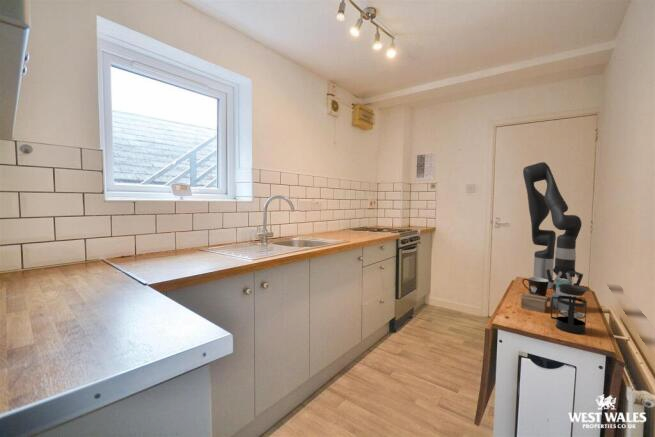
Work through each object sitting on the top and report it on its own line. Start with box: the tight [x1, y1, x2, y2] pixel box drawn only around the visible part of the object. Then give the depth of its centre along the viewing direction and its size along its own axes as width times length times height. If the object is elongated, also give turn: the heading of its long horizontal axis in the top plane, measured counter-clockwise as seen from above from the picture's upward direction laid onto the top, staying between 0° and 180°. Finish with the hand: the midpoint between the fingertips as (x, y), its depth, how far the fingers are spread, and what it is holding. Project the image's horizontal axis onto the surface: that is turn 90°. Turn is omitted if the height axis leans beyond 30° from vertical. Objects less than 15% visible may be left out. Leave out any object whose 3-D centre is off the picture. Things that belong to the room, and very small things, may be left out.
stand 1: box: [520, 292, 549, 313], centre depth 142 cm, size 9×9×5 cm
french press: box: [550, 271, 589, 335], centre depth 118 cm, size 12×9×23 cm
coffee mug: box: [521, 276, 549, 297], centre depth 156 cm, size 12×9×10 cm
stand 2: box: [549, 292, 577, 311], centre depth 142 cm, size 9×9×5 cm
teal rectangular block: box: [555, 278, 571, 296], centre depth 142 cm, size 5×7×6 cm
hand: (563, 292), depth 142 cm, fingers closed on teal rectangular block, 5 cm apart
